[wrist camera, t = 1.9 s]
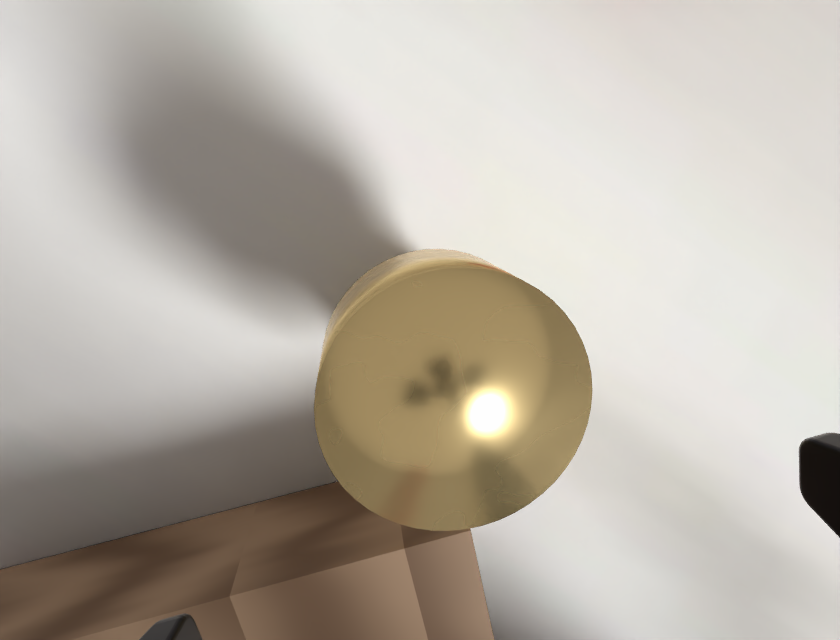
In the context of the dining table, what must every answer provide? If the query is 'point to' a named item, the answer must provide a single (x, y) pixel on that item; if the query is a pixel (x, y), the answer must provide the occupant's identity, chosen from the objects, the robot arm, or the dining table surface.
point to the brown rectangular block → (259, 579)
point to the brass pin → (449, 391)
